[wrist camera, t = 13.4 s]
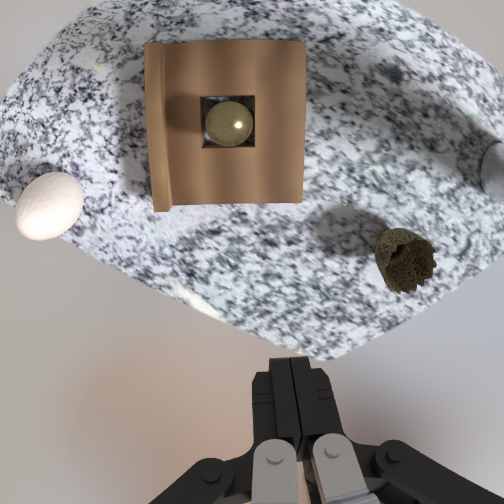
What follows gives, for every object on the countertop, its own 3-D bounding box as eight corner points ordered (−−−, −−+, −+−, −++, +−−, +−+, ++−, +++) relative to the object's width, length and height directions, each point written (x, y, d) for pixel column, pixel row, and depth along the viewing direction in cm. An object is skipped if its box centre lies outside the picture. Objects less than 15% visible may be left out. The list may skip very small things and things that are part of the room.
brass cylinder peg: (249, 102, 31) (253, 101, 24) (248, 137, 33) (252, 146, 26) (212, 102, 31) (205, 101, 24) (212, 137, 33) (205, 146, 26)
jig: (300, 46, 28) (309, 38, 23) (297, 195, 36) (305, 208, 32) (157, 51, 27) (144, 43, 23) (164, 198, 36) (154, 212, 31)
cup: (358, 223, 38) (382, 251, 31) (405, 207, 37) (436, 231, 30) (366, 269, 41) (387, 302, 34) (410, 253, 40) (436, 283, 33)
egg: (50, 162, 32) (-5, 188, 22) (96, 164, 33) (45, 192, 23) (52, 214, 36) (4, 252, 25) (96, 219, 36) (52, 262, 26)
